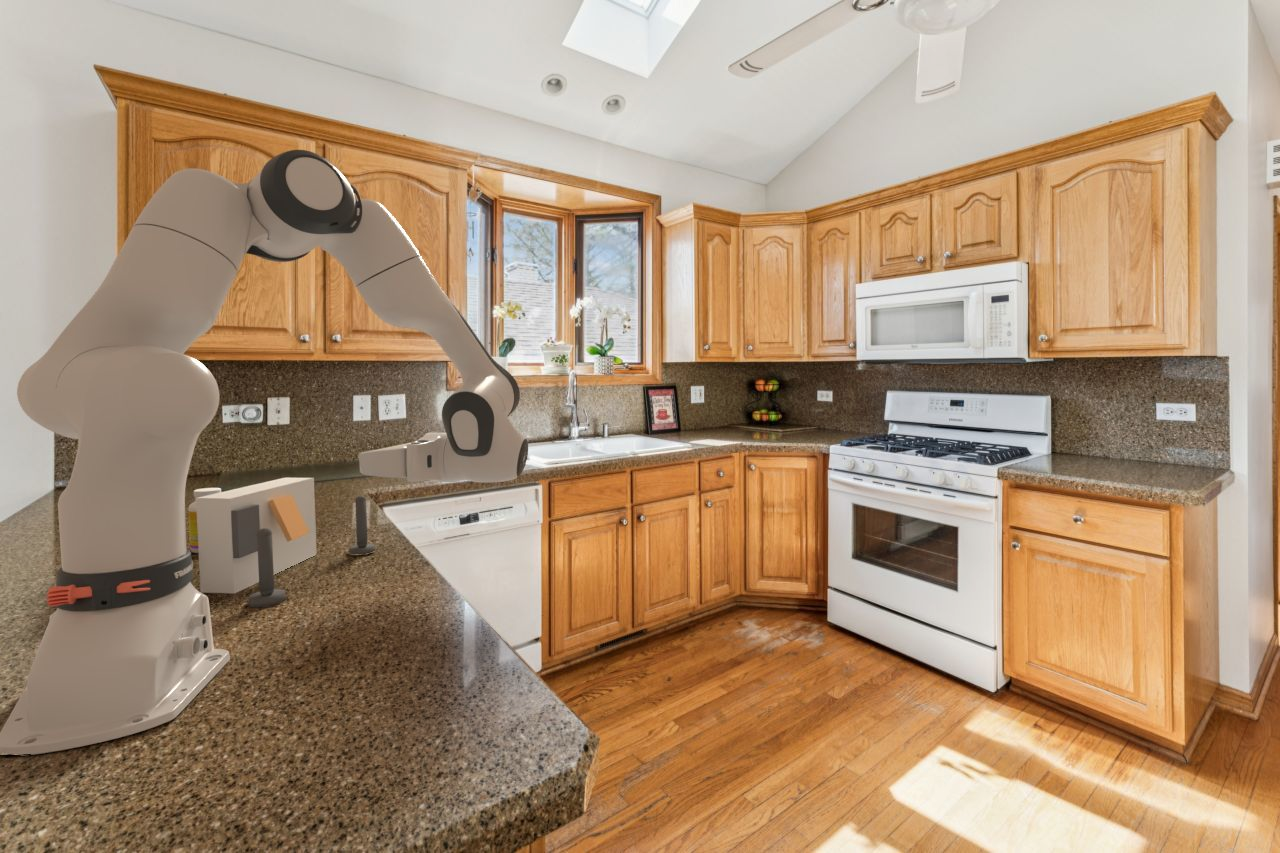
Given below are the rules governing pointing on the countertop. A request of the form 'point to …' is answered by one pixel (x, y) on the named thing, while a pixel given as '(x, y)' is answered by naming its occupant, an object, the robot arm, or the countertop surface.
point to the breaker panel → (217, 528)
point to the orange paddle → (288, 517)
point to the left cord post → (266, 574)
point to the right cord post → (361, 529)
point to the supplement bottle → (193, 516)
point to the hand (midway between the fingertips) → (362, 456)
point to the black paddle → (245, 530)
